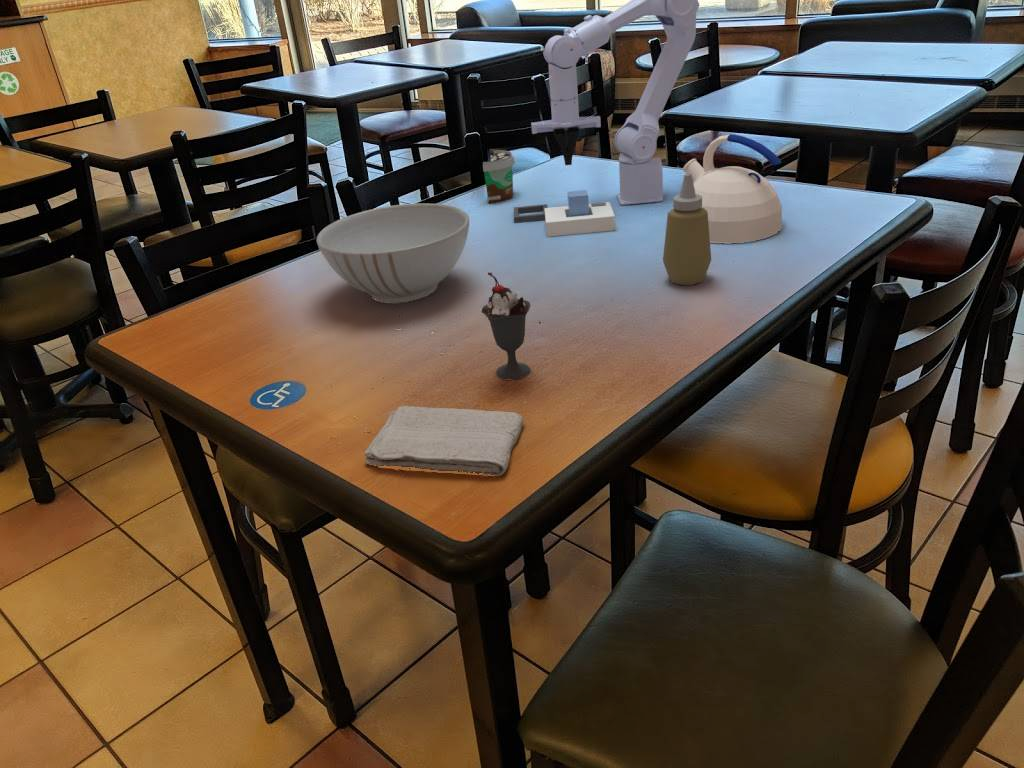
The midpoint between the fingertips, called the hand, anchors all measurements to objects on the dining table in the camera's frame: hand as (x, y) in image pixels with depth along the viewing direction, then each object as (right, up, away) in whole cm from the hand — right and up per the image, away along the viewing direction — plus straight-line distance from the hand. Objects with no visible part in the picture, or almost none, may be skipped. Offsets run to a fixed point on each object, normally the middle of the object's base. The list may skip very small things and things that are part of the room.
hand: (568, 164), depth 169 cm
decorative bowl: (-32, -31, -26) cm, 51 cm away
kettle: (+31, -17, -14) cm, 38 cm away
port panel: (+2, -14, -5) cm, 15 cm away
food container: (-14, -3, +20) cm, 24 cm away
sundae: (-12, -46, -58) cm, 75 cm away
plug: (+2, -14, -5) cm, 15 cm away
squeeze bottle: (+18, -30, -35) cm, 49 cm away
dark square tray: (-8, -10, +5) cm, 14 cm away
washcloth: (-20, -56, -72) cm, 94 cm away
